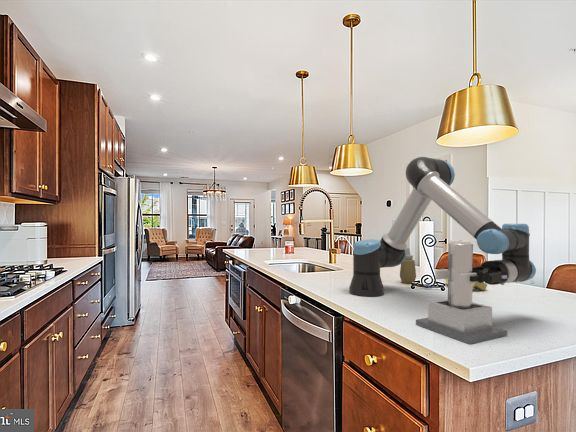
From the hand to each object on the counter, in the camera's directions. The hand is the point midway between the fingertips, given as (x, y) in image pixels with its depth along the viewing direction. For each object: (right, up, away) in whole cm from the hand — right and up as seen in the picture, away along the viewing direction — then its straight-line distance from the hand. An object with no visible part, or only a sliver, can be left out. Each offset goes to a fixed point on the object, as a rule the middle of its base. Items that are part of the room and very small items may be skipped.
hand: (448, 276), depth 96 cm
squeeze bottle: (+16, -17, +75) cm, 79 cm away
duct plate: (+4, -16, +2) cm, 17 cm away
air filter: (+4, -15, +2) cm, 15 cm away
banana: (+39, -18, +65) cm, 78 cm away
